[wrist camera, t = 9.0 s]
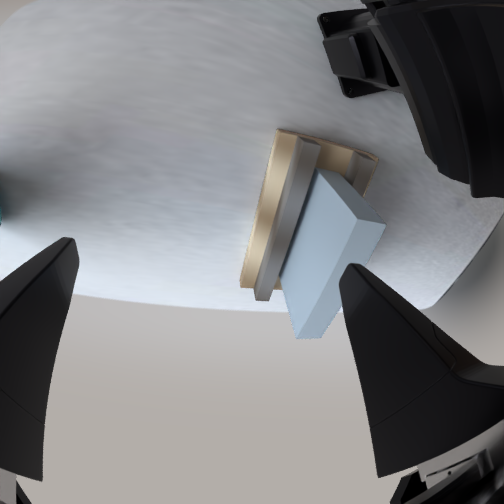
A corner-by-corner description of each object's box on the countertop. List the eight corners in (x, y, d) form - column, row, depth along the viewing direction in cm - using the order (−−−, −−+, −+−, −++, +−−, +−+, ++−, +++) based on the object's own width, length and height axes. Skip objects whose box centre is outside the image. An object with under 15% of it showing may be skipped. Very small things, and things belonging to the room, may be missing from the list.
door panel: (314, 167, 18) (357, 218, 13) (338, 172, 19) (386, 224, 13) (278, 273, 24) (296, 338, 19) (298, 274, 25) (320, 338, 19)
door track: (276, 128, 17) (285, 137, 15) (372, 154, 19) (389, 166, 17) (239, 280, 25) (242, 299, 23) (317, 284, 27) (324, 302, 25)
